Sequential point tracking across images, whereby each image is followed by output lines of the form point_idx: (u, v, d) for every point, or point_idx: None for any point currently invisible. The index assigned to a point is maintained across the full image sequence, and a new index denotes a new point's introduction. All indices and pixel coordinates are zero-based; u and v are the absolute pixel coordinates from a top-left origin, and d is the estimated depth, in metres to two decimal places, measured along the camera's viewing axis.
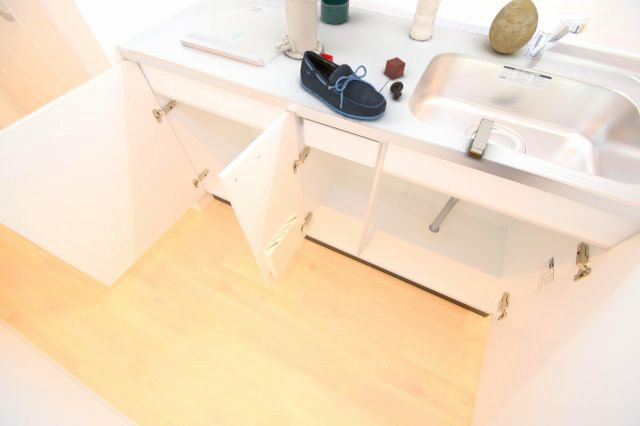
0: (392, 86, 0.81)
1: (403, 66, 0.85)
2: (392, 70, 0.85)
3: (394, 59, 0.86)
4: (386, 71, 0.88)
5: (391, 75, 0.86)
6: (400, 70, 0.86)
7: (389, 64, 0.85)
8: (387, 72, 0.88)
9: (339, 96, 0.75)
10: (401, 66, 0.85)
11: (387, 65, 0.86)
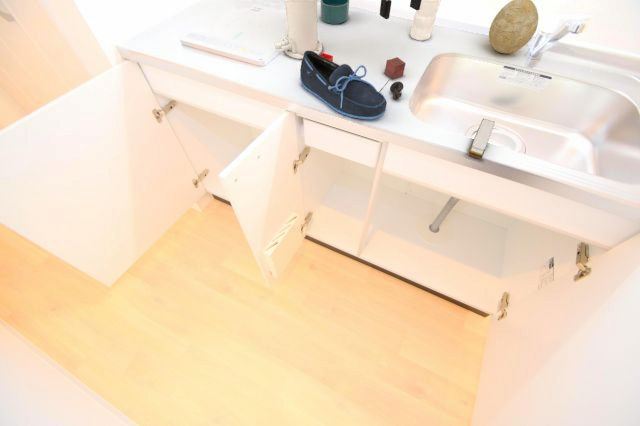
0: (392, 86, 0.81)
1: (403, 66, 0.85)
2: (392, 70, 0.85)
3: (394, 59, 0.86)
4: (386, 71, 0.88)
5: (391, 75, 0.86)
6: (400, 70, 0.86)
7: (389, 64, 0.85)
8: (387, 72, 0.88)
9: (339, 96, 0.75)
10: (401, 66, 0.85)
11: (387, 65, 0.86)
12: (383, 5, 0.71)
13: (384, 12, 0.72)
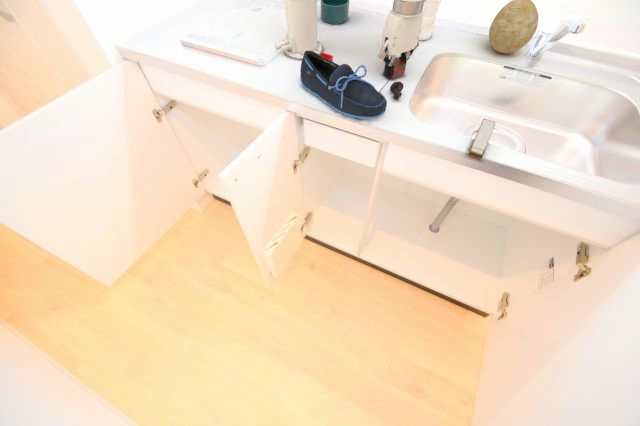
0: (392, 86, 0.81)
1: (403, 66, 0.85)
2: None
3: (394, 59, 0.86)
4: None
5: None
6: (400, 70, 0.86)
7: None
8: None
9: (339, 96, 0.75)
10: (401, 66, 0.85)
11: None
12: (387, 68, 0.85)
13: (387, 73, 0.86)
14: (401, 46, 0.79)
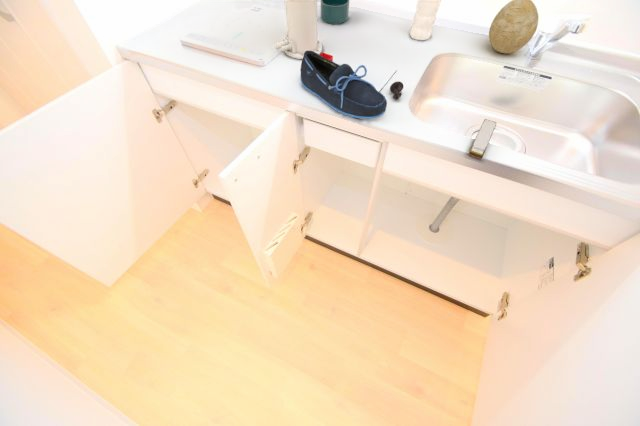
0: (392, 86, 0.81)
1: None
2: None
3: None
4: None
5: None
6: None
7: None
8: None
9: (339, 96, 0.75)
10: None
11: None
12: None
13: None
14: None
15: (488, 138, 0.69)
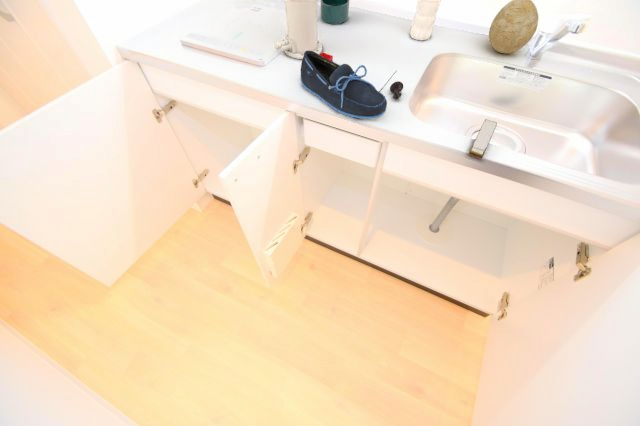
0: (392, 86, 0.81)
1: None
2: None
3: None
4: None
5: None
6: None
7: None
8: None
9: (339, 96, 0.75)
10: None
11: None
12: None
13: None
14: None
15: (488, 138, 0.69)
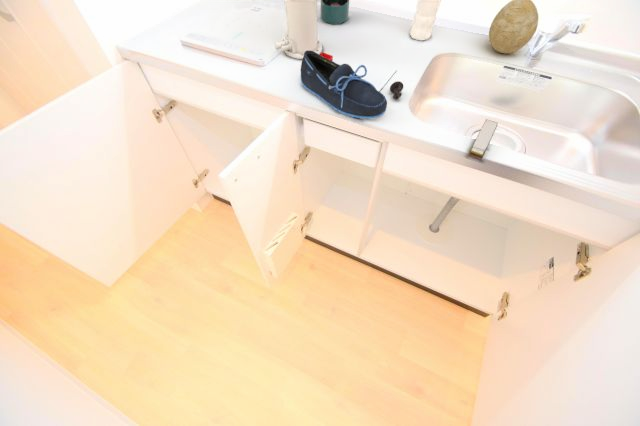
0: (392, 86, 0.81)
1: None
2: None
3: (333, 3, 1.07)
4: None
5: None
6: None
7: None
8: None
9: (339, 96, 0.75)
10: None
11: None
12: (326, 2, 1.04)
13: None
14: None
15: (489, 138, 0.69)
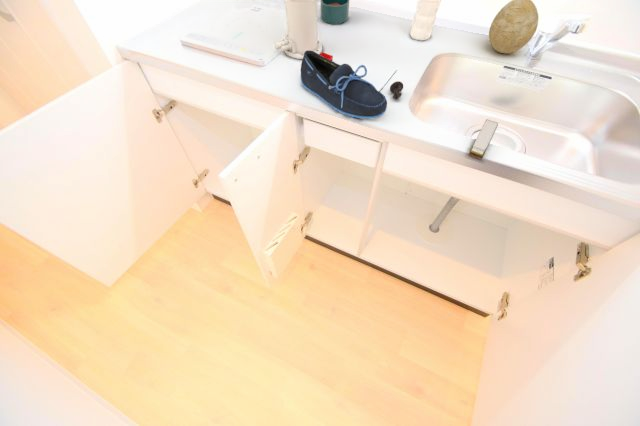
0: (392, 86, 0.81)
1: None
2: None
3: (333, 3, 1.07)
4: None
5: None
6: None
7: None
8: None
9: (340, 96, 0.75)
10: None
11: None
12: None
13: None
14: None
15: (489, 138, 0.69)
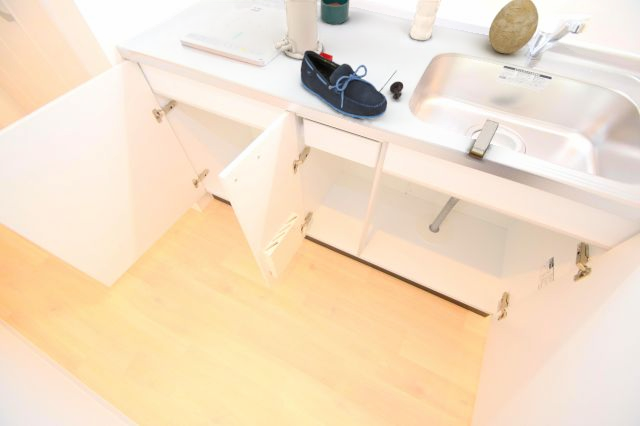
0: (392, 86, 0.81)
1: None
2: None
3: (333, 3, 1.07)
4: None
5: None
6: None
7: None
8: None
9: (340, 96, 0.75)
10: None
11: None
12: None
13: None
14: None
15: (489, 139, 0.69)
